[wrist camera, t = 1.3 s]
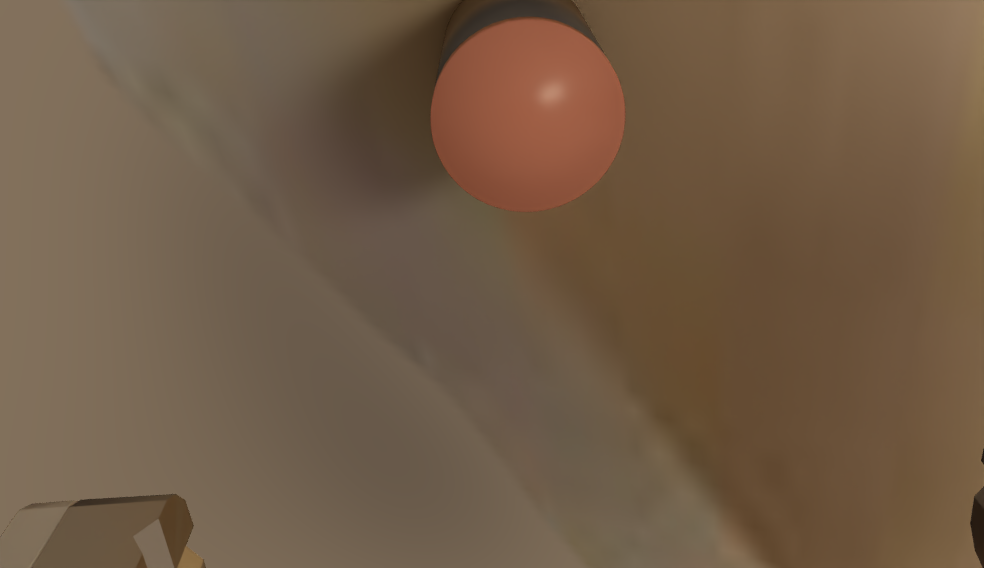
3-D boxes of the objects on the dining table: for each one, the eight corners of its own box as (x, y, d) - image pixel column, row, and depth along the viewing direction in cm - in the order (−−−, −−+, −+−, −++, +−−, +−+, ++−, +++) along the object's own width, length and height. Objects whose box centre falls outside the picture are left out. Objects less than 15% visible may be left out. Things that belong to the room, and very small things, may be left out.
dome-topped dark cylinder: (585, -33, 28) (621, 9, 21) (593, 116, 30) (629, 201, 23) (433, -15, 28) (417, 33, 21) (452, 131, 30) (444, 220, 23)
